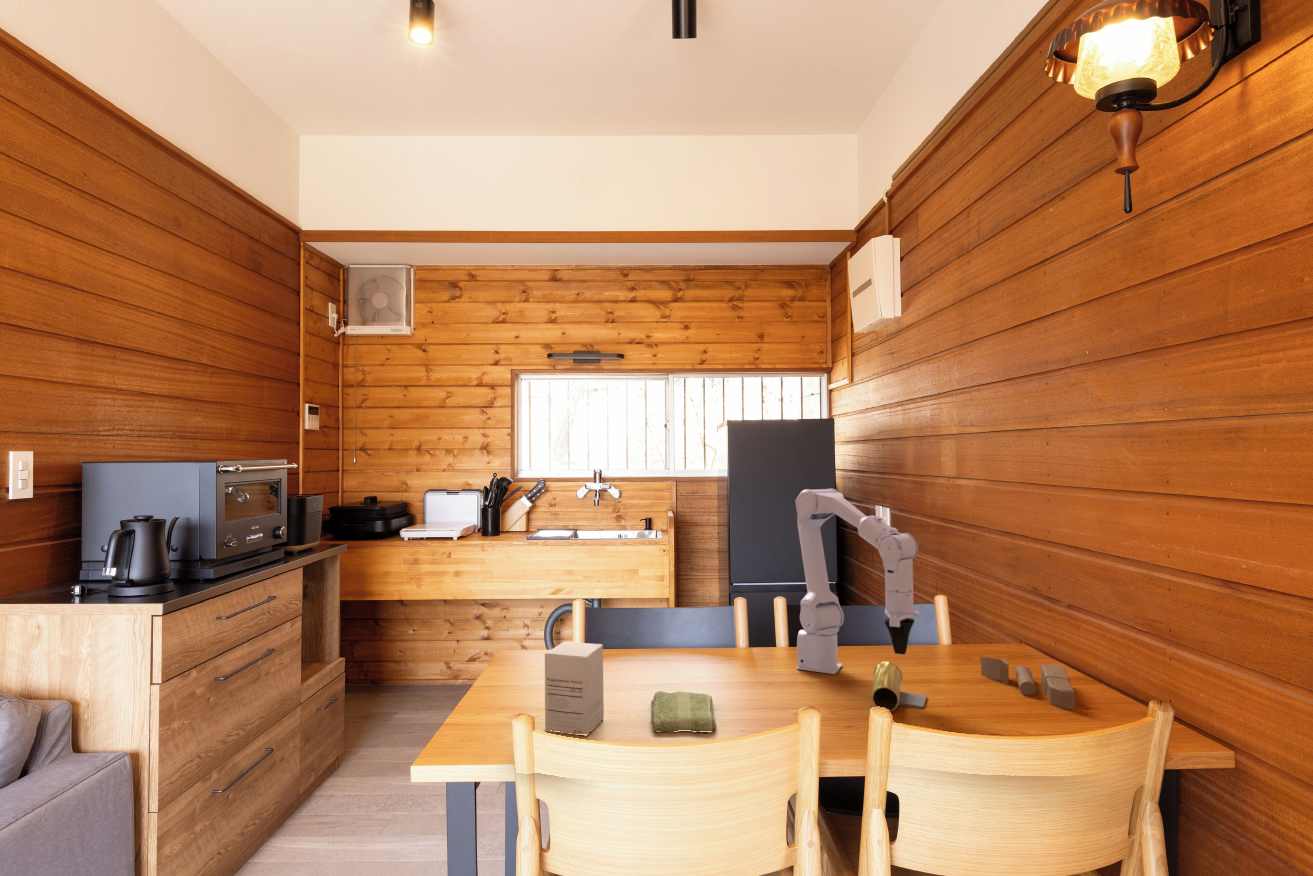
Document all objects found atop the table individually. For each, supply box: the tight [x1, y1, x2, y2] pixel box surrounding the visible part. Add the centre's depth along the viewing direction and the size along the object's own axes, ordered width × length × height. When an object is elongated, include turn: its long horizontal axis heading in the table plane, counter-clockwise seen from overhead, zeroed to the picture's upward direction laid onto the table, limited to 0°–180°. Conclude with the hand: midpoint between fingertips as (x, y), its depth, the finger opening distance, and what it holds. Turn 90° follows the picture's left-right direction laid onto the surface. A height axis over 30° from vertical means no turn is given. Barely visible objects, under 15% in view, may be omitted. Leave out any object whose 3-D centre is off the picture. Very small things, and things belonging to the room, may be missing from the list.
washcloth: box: [650, 690, 717, 732], centre depth 133 cm, size 13×18×3 cm
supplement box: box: [544, 641, 605, 735], centre depth 128 cm, size 9×9×15 cm
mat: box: [898, 691, 928, 710], centre depth 141 cm, size 10×7×1 cm
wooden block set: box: [980, 656, 1076, 711], centre depth 146 cm, size 17×6×18 cm
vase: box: [871, 661, 903, 712], centre depth 140 cm, size 6×6×14 cm
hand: (900, 653), depth 143 cm, fingers closed
